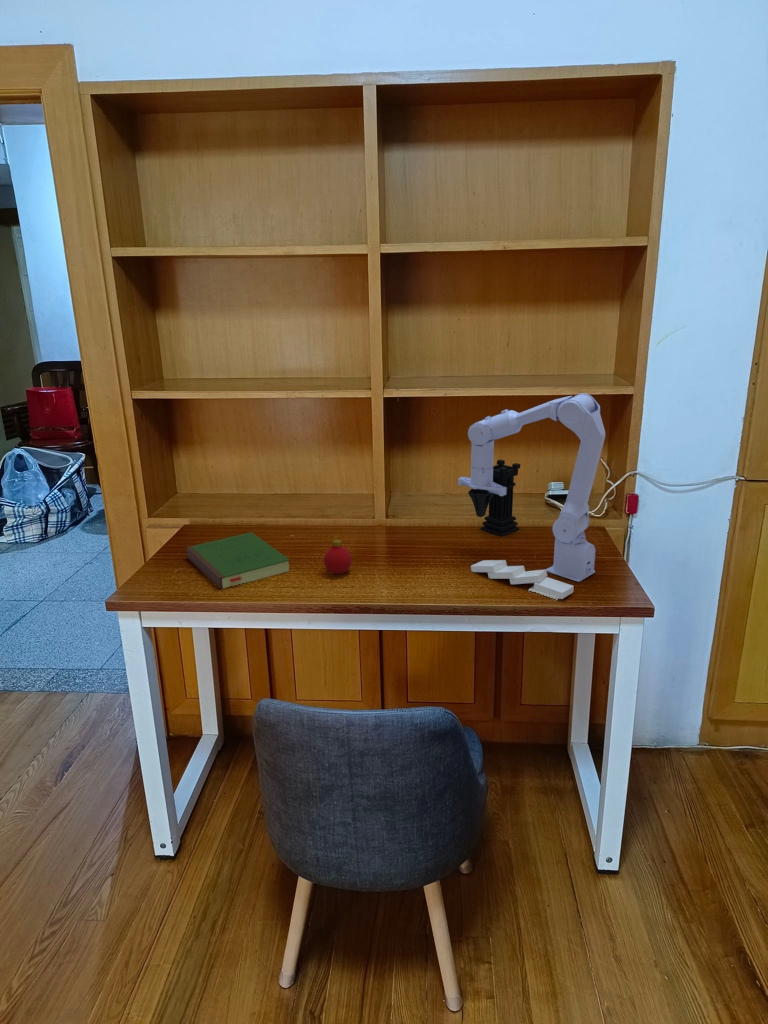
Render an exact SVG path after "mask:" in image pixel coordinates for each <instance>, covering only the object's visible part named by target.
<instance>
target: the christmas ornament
mask: <svg viewBox="0 0 768 1024" xmlns="http://www.w3.org/2000/svg"><path fill="white" fill-rule="evenodd" d="M337 537H338V539H336V538H337ZM352 562H353V561H352V555H351V552H350V551H349V549H347V548H346V547H345V546H342V540H341V539H340V536H339V535H336V536H334V538H333V540H332V546H331V547H330V548H328V550H327V551H326V552H325V554H324V556H323V564H324V566H325V568H326V570H327V571H329V573H332V574H336V575H341V574H344V573H345V572H347V571H348V570H349V568H350V567H351V566H352Z"/></svg>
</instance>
